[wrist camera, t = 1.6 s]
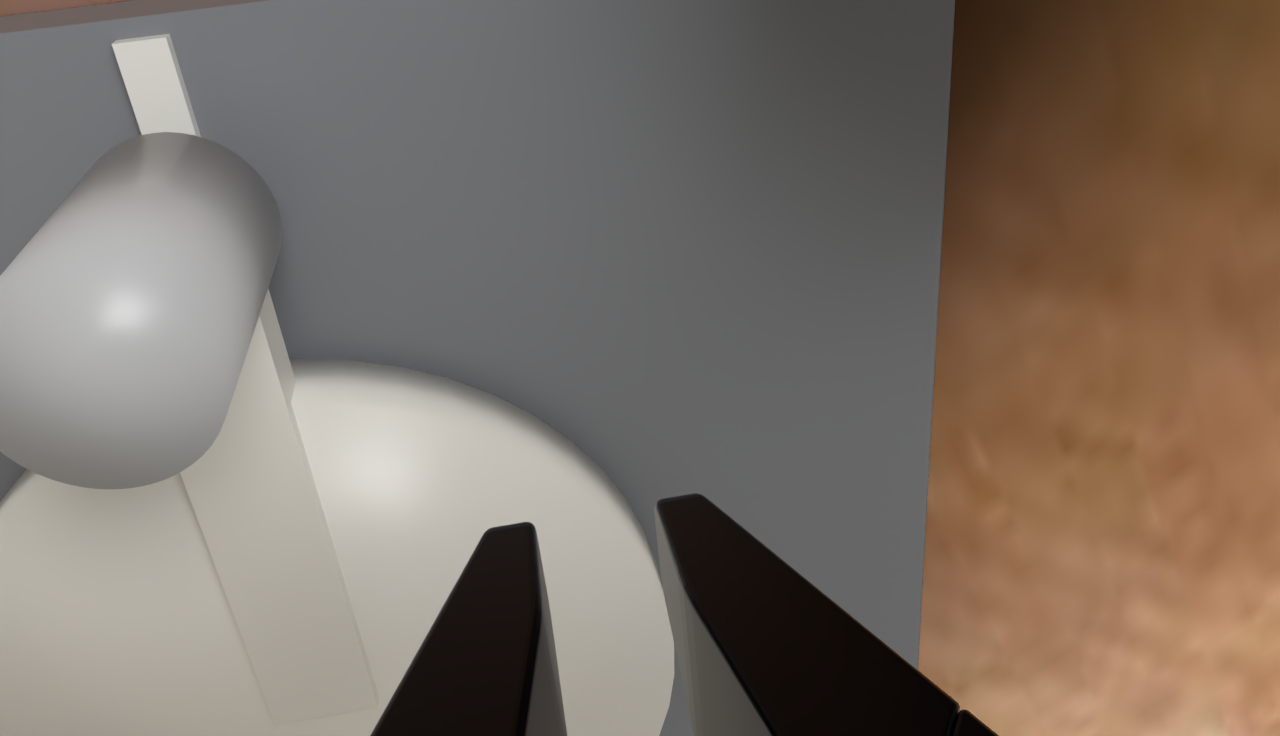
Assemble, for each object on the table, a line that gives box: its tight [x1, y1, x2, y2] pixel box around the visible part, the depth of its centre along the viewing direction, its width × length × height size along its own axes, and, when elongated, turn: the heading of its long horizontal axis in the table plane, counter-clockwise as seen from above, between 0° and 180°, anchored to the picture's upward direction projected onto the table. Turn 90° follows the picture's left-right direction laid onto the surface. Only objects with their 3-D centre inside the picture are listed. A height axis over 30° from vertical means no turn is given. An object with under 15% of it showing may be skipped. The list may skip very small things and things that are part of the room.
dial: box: [0, 132, 674, 736], centre depth 19 cm, size 18×14×6 cm
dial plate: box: [0, 0, 955, 736], centre depth 24 cm, size 26×26×2 cm
